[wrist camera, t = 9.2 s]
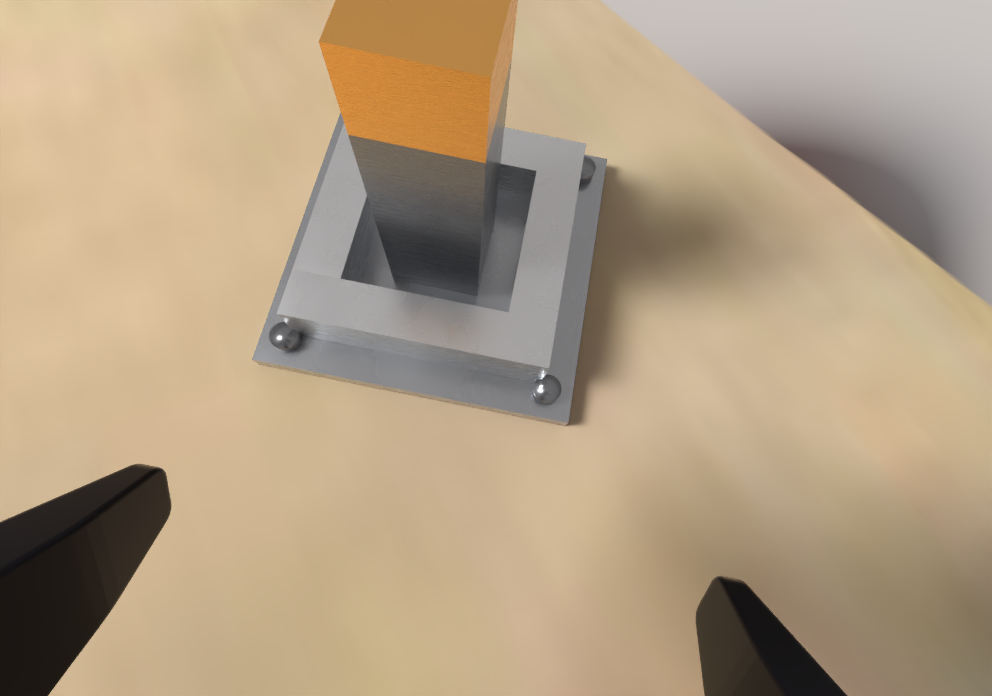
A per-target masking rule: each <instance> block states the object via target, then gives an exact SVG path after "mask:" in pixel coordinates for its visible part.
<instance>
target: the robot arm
mask: <svg viewBox="0 0 992 696" xmlns="http://www.w3.org/2000/svg"><path fill="white" fill-rule="evenodd" d="M170 511H171V499H170V493H169V488H168V482H167V476H166V473H165V471H164V470H163V469H162V468H159V467H154V466H149V465H144V464H134V465H131V466H128V467H126V468H124V469H122V470H119V471H117V472H115V473H112V474H110V475H108V476H105V477H103V478H101V479H98V480H96V481H94V482H92V483H89V484H87V485H85V486H82V487H80V488H78V489H75V490H73V491H71V492H68V493H66V494H64V495H62V496H59V497H57V498H55V499H52V500H50V501H48V502H45V503H43V504H41V505H38V506H36V507H34V508H32V509H29V510H27V511H25V512H22V513H20V514H18V515H15V516H13V517H11V518H8V519H6V520H4V521H2V522H0V696H48V695H49V693H50V692H51V691H52V689H53V688H54V687H55V685H56V684H57V683H58V681H59V680H60V679H61V677H62V676H63V675H64V673H65V672H66V671H67V669H68V668H69V667H70V665H71V664H72V663H73V661H74V660H75V659H76V657H77V656H78V655H79V653H80V652H81V651H82V649H83V648H84V647H85V645H86V644H87V643H88V641H89V640H90V639H91V637H92V636H93V635H94V633H95V632H96V631H97V629H98V628H99V627H100V625H101V624H102V623H103V621H104V620H105V618H106V617H107V616H108V614H109V613H110V611H111V610H112V608H113V607H114V605H115V604H116V602H117V601H118V599H119V598H120V596H121V595H122V593H123V591H124V590H125V588H126V586H127V585H128V583H129V582H130V580H131V578H132V577H133V575H134V573H135V572H136V570H137V568H138V567H139V565H140V564H141V562H142V560H143V559H144V557H145V555H146V554H147V552H148V551H149V549H150V547H151V546H152V544H153V542H154V541H155V539H156V538H157V536H158V534H159V533H160V531H161V529H162V528H163V526H164V525H165V523H166V521H167V519H168V517H169V515H170ZM696 628H697V636H698V645H699V653H700V661H701V669H702V678H703V686H704V694H705V696H847V695H846V694H845V693H844V692H843V690H842V689H841V688H840V687H839V686H838V685H837V684H836V683H835V682H834V680H833V679H832V678H831V677H830V676H829V675H828V674H827V673H826V672H825V671H824V669H823V668H822V667H821V666H820V665H819V664H818V663H817V662H816V661H815V659H814V658H813V657H812V656H811V655H810V654H809V653H808V652H807V651H806V649H805V648H804V647H803V646H802V645H801V644H800V643H799V642H798V641H797V639H796V638H795V637H794V636H793V635H792V634H791V633H790V632H789V631H788V629H787V628H786V627H785V626H784V625H783V624H782V623H781V622H780V621H779V619H778V618H777V617H776V616H775V615H774V614H773V613H772V612H771V611H770V610H769V608H768V607H767V606H766V605H765V604H764V603H763V602H762V601H761V600H760V598H759V597H758V596H757V595H756V594H755V593H754V592H753V591H752V590H751V588H750V587H749V586H748V585H747V584H746V583H744V582H743V581H741V580H738V579H733V578H728V577H723V576H717V577H716V578H714V579H713V580H712V582H711V584H710V586H709V587H708V589H707V591H706V593H705V595H704V597H703V598H702V600H701V602H700V604H699V606H698V608H697V612H696Z"/></svg>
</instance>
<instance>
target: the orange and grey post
mask: <svg viewBox="0 0 992 696" xmlns="http://www.w3.org/2000/svg"><path fill="white" fill-rule="evenodd" d="M517 2H518V0H336V1H335V3H334V6H333V8H332V11H331V13H330V16H329V18H328V20H327V23H326V25H325V28H324V30H323V33H322V35H321V38H320V40H319V44H320V47H321V50H322V53H323V56H324V60H325V63H326V66H327V69H328V72H329V76H330V79H331V82H332V85H333V88H334V92H335V95H336V98H337V101H338V104H339V107H340V111H341V114H342V117H343V120H344V123H345V127H346V130H347V133H348V136H349V139H350V143H351V146H352V149H353V152H354V155H355V159H356V162H357V165H358V168H359V171H360V175H361V178H362V181H363V184H364V187H365V190H366V194H367V197H368V200H369V203H370V206H371V210H372V213H373V216H374V219H375V222H376V226H377V229H378V232H379V235H380V238H381V242H382V245H383V248H384V251H385V254H386V257H387V261H388V264H389V267H390V270H391V273H392V277H393V279H396V280H401V281H406V282H410V283H415V284H420V285H425V286H430V287H435V288H439V289H444V290H449V291H454V292H459V293H463V294H468V295H473V296H478V292H479V288H480V283H481V279H482V275H483V270H484V266H485V261H486V257H487V253H488V248H489V244H490V240H491V235H492V231H493V226H494V221H495V212H496V202H497V193H498V183H499V174H500V164H501V155H502V145H503V136H504V126H505V116H506V107H507V97H508V88H509V78H510V69H511V59H512V50H513V40H514V31H515V21H516V12H517Z"/></svg>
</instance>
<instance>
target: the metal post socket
mask: <svg viewBox="0 0 992 696" xmlns="http://www.w3.org/2000/svg"><path fill="white" fill-rule="evenodd" d="M585 147H586V144H585V143H580V142H575V141H570V140H565V139H560V138H555V137H550V136H545V135H540V134H535V133H530V132H525V131H520V130H515V129H510V128H505V127H504V136H503V145H502V155H501V164H500V174H499V183H498V193H497V202H496V212H495V221H494V226H493V231H492V235H491V240H490V244H489V248H488V253H487V257H486V261H485V266H484V270H483V275H482V279H481V283H480V288H479V292H478V296H473V295H468V294H463V293H459V292H454V291H449V290H444V289H439V288H435V287H430V286H425V285H420V284H415V283H410V282H406V281H401V280H396V279H393V277H392V273H391V270H390V267H389V264H388V261H387V257H386V254H385V251H384V248H383V245H382V242H381V238H380V235H379V232H378V229H377V226H376V222H375V219H374V216H373V213H372V210H371V206H370V203H369V200H368V197H367V194H366V190H365V187H364V184H363V181H362V178H361V175H360V171H359V168H358V165H357V162H356V159H355V155H354V152H353V149H352V146H351V143H350V139H349V136H348V133H347V130H346V127H345V123H344V120H343V117H342V114H341V113H340V116H339V119H338V121H337V124H336V127H335V130H334V132H333V135H332V138H331V141H330V144H329V146H328V149H327V152H326V155H325V158H324V160H323V163H322V166H321V169H320V172H319V174H318V177H317V180H316V183H315V185H314V188H313V191H312V194H311V197H310V199H309V202H308V205H307V208H306V211H305V213H304V216H303V219H302V222H301V225H300V227H299V230H298V233H297V236H296V238H295V241H294V244H293V247H292V250H291V252H290V255H289V258H288V261H287V264H286V266H285V269H284V272H283V275H282V278H281V280H280V283H279V286H278V289H277V291H276V294H275V297H274V300H273V303H272V305H271V308H270V311H269V314H268V317H267V319H266V322H265V325H264V328H263V331H262V333H261V336H260V339H259V342H258V344H257V347H256V350H255V353H254V356H253V358H252V360H254V361H255V362H257V363H258V364H260V365H265V366H270V367H275V368H280V369H285V370H290V371H295V372H300V373H305V374H310V375H315V376H319V377H324V378H329V379H334V380H339V381H344V382H349V383H354V384H359V385H364V386H369V387H374V388H379V389H384V390H389V391H394V392H399V393H404V394H409V395H414V396H419V397H424V398H429V399H434V400H439V401H444V402H449V403H454V404H459V405H464V406H469V407H473V408H478V409H483V410H488V411H493V412H498V413H503V414H508V415H513V416H518V417H523V418H528V419H533V420H538V421H543V422H548V423H553V424H558V425H563V426H565V425H567V424H568V422H569V415H570V409H571V402H572V395H573V388H574V381H575V375H576V368H577V361H578V354H579V347H580V341H581V334H582V327H583V320H584V313H585V306H586V300H587V293H588V286H589V279H590V272H591V266H592V259H593V252H594V245H595V238H596V232H597V225H598V218H599V211H600V204H601V198H602V191H603V184H604V177H605V170H606V163H607V159H604V158H599V157H594V156H589V155H584V153H585Z"/></svg>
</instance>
